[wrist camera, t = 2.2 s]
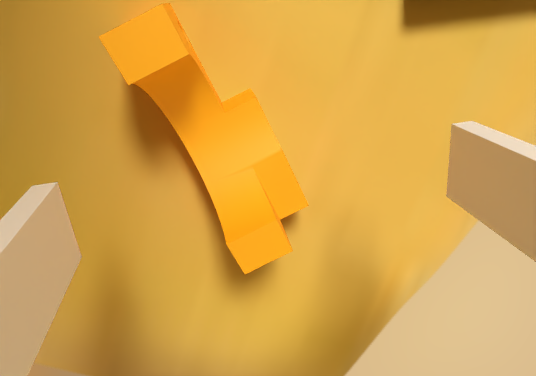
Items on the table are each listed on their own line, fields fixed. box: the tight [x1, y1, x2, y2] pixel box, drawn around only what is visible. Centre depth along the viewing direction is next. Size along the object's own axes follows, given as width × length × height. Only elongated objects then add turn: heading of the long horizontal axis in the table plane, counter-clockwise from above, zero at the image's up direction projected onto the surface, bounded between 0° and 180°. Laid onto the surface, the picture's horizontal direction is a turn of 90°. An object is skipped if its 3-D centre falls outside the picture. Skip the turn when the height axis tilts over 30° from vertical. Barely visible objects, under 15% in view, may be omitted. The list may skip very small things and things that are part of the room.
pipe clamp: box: [99, 3, 309, 274], centre depth 21 cm, size 12×4×6 cm, turn 25°
